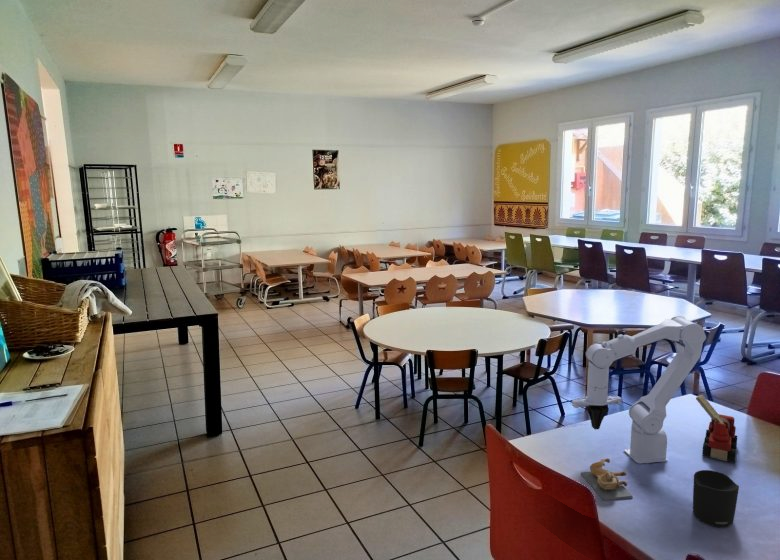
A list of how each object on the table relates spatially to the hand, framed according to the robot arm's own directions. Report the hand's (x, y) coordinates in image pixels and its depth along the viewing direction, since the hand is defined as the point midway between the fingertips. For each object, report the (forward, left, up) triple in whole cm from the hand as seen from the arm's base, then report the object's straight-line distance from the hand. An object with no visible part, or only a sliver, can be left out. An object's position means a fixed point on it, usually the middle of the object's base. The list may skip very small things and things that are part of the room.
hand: (595, 427), depth 161 cm
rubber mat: (+4, +15, -9) cm, 18 cm away
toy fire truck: (-38, +2, -10) cm, 39 cm away
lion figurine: (0, +14, -6) cm, 15 cm away
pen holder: (-14, +32, -10) cm, 36 cm away
